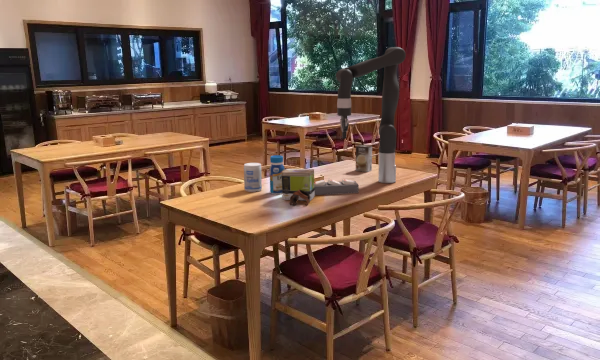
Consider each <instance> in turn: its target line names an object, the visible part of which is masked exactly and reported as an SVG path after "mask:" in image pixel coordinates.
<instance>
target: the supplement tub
mask: <svg viewBox="0 0 600 360" xmlns="http://www.w3.org/2000/svg"><path fill="white" fill-rule="evenodd" d="M243 180H244V181H243V183H244V184H243V185H244V191H245V192H249V193H256V191H257V192H261V190H262V186H263V184H262V181H263V180H262V164H261V163H260V162H248V163H244V164H243Z"/></svg>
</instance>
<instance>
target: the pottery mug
mask: <svg viewBox="0 0 600 360" xmlns="http://www.w3.org/2000/svg"><path fill="white" fill-rule="evenodd" d="M299 196H300V197H301V198H303V199H305V200H307V201H305V202H306V203H305V205H306V206H309V204H310V202H311V201H310V197H311V196H310V195H309V194H308V193H306V192H305V191H303V190H298V191H297V192H295V193H293V195H292V196H291V197H290V200H289V201H290V202H289V205H290V206H295V205H297V202H298V201H299V200H298V199H299ZM307 198H308V199H307Z"/></svg>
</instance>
